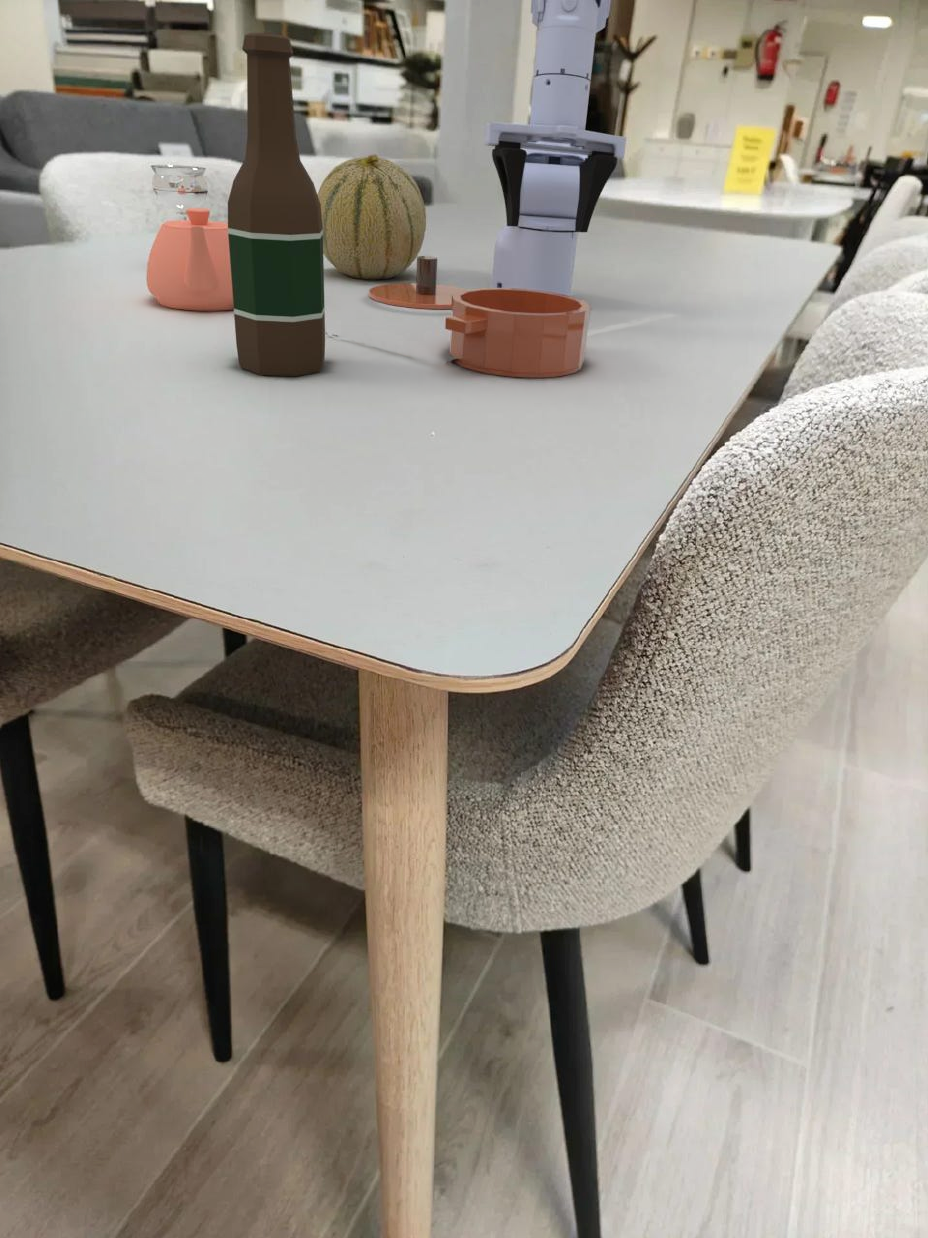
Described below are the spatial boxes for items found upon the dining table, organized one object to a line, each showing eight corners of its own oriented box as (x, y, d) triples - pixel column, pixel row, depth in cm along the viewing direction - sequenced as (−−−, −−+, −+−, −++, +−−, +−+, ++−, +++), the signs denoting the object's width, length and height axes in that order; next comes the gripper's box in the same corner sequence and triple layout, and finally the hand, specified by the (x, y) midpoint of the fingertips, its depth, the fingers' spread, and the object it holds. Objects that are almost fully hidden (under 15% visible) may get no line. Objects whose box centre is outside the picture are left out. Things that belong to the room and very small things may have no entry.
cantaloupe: (394, 269, 124) (396, 150, 116) (444, 287, 113) (450, 158, 105) (297, 271, 117) (292, 146, 109) (340, 292, 106) (338, 154, 99)
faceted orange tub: (401, 360, 79) (403, 298, 76) (521, 335, 91) (526, 281, 88) (508, 391, 72) (514, 324, 69) (622, 359, 84) (631, 302, 82)
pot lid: (345, 298, 103) (344, 252, 100) (423, 288, 112) (424, 246, 109) (428, 319, 95) (430, 270, 93) (504, 306, 104) (508, 261, 102)
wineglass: (151, 270, 111) (139, 166, 105) (175, 263, 117) (165, 163, 111) (201, 274, 111) (192, 170, 105) (222, 267, 117) (215, 167, 110)
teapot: (259, 289, 105) (254, 202, 100) (263, 321, 90) (257, 221, 85) (155, 286, 102) (144, 198, 97) (140, 319, 87) (127, 216, 82)
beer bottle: (343, 362, 77) (339, 41, 65) (301, 382, 71) (288, 30, 59) (266, 350, 79) (248, 37, 67) (219, 369, 73) (190, 26, 61)
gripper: (501, 63, 81) (489, 222, 86) (645, 82, 84) (625, 234, 89) (484, 76, 87) (474, 223, 92) (618, 93, 90) (601, 234, 95)
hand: (547, 229), depth 91 cm, fingers open, 7 cm apart
